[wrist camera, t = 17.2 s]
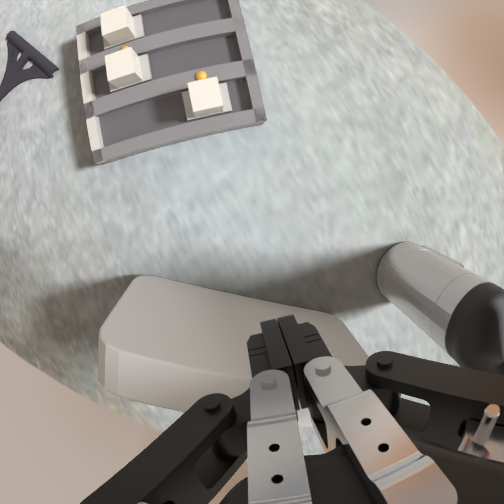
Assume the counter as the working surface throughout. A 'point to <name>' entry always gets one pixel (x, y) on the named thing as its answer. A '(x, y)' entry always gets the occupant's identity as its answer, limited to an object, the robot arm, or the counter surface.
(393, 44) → the counter surface
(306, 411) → the grey block
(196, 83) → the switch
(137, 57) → the switch middle
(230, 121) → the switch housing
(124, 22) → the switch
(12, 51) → the bracket
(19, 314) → the counter surface
